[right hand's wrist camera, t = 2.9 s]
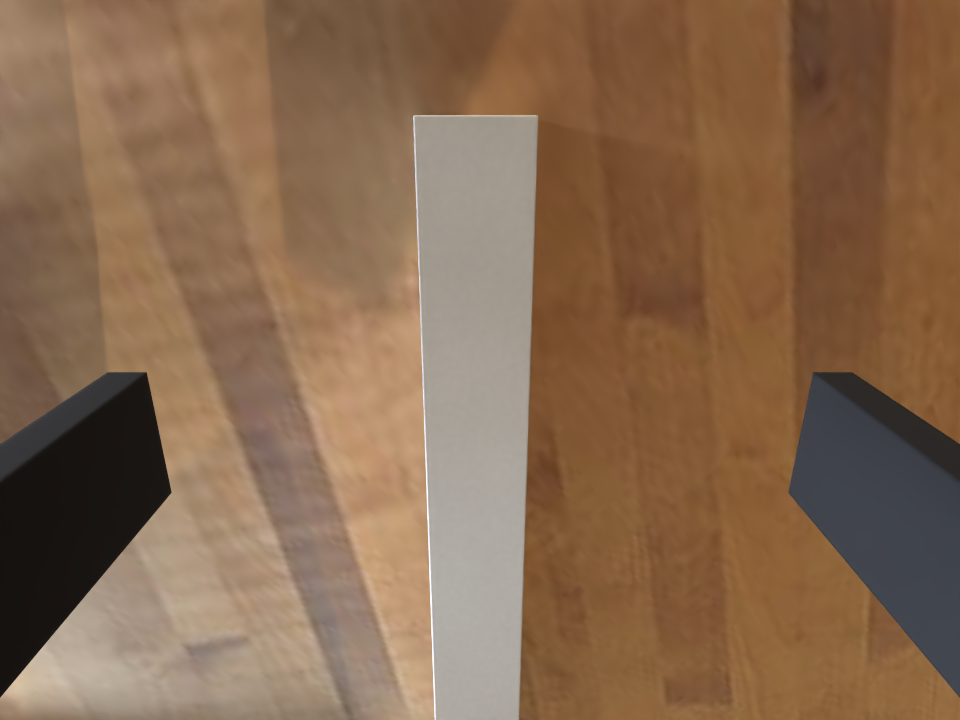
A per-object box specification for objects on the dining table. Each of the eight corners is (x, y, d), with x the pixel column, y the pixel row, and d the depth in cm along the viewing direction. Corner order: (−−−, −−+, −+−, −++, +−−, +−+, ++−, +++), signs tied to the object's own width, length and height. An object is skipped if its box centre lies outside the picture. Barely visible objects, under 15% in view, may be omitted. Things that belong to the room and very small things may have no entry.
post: (426, 116, 32) (413, 115, 26) (526, 116, 32) (538, 115, 26) (448, 859, 54) (443, 966, 47) (507, 859, 54) (511, 966, 47)
